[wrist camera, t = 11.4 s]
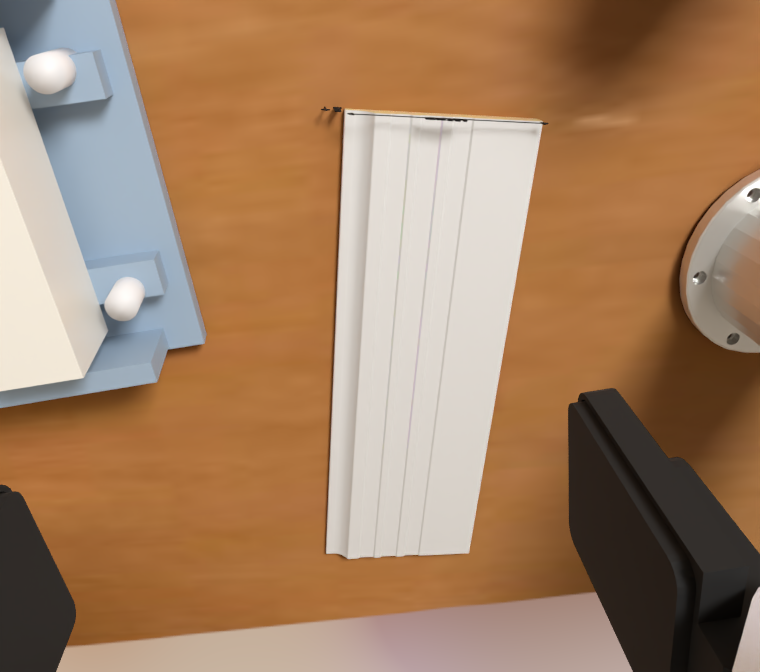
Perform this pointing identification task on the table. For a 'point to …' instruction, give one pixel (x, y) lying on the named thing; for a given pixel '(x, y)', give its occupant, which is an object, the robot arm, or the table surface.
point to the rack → (105, 188)
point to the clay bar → (38, 256)
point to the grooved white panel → (421, 322)
